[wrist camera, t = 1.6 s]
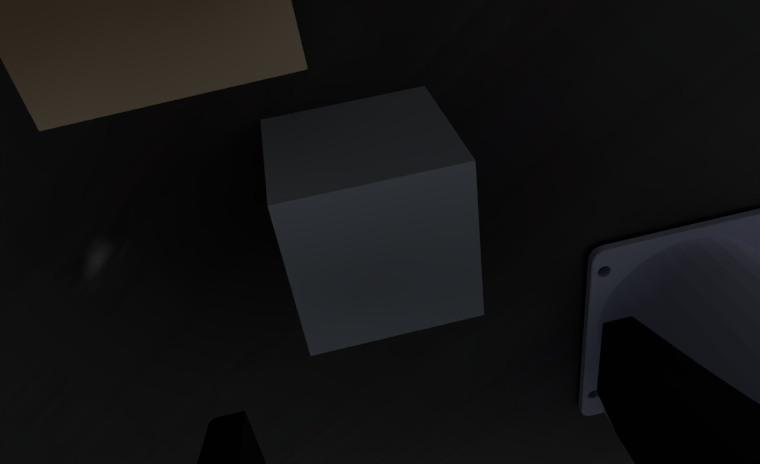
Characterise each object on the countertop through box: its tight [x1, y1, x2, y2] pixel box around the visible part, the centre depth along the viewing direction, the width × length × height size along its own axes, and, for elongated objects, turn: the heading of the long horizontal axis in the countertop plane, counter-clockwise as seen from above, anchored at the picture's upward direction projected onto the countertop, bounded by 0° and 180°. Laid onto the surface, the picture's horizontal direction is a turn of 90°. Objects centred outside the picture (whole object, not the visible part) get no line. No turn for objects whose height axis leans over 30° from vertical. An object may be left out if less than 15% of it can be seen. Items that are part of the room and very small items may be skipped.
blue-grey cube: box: [261, 86, 484, 356], centre depth 18 cm, size 5×5×5 cm
